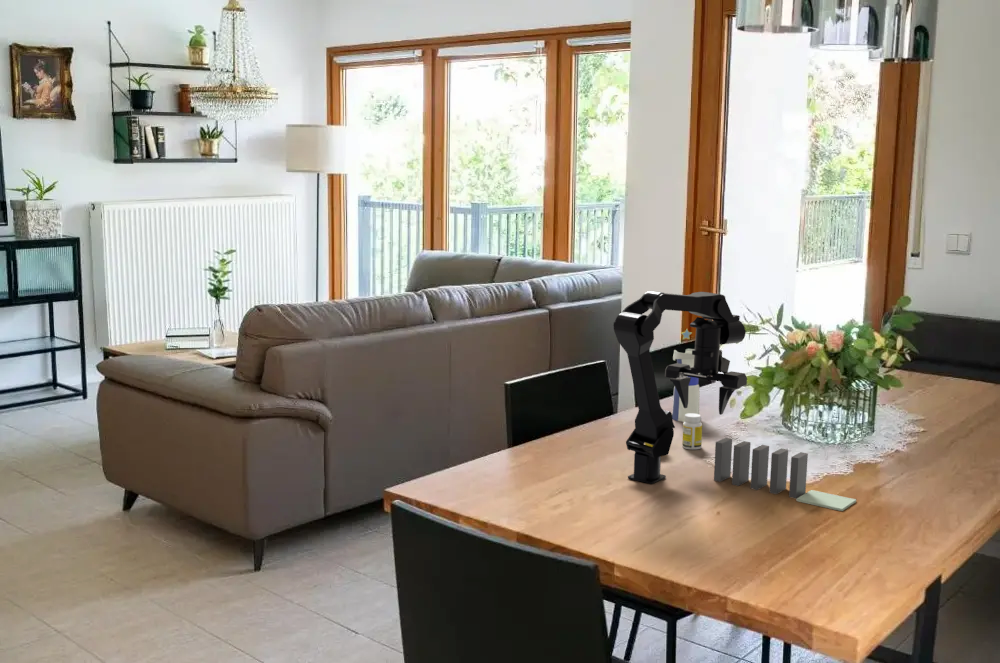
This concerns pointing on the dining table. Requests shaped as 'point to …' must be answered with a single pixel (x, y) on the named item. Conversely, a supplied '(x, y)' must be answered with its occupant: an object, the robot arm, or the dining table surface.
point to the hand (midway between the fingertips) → (703, 411)
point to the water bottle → (694, 389)
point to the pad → (826, 500)
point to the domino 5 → (798, 475)
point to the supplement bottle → (692, 431)
